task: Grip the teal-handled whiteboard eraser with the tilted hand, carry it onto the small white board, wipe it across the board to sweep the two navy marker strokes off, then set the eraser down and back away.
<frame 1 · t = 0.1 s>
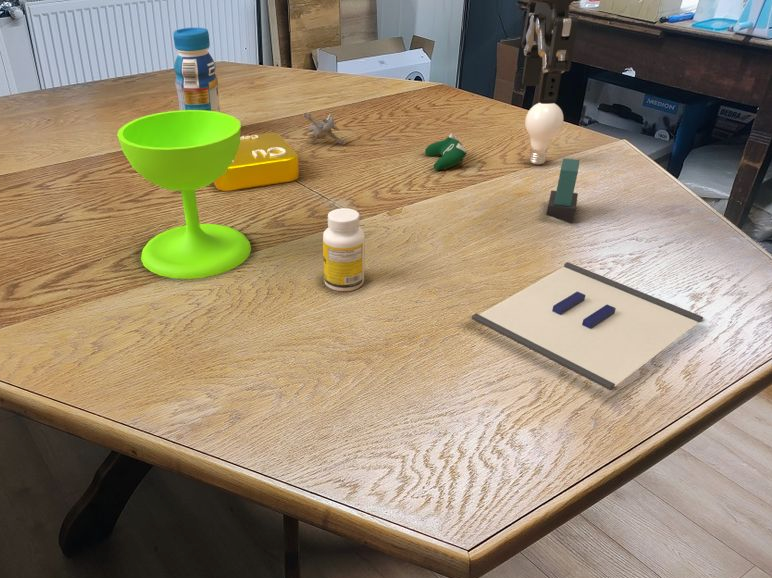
hand: (538, 93, 92), 20 cm above the table, tool pointing down, fingers open, 8 cm apart
eraser: (560, 214, 106), on the table
wineglass: (196, 252, 100), on the table
marker stroke: (598, 319, 80), point 1 cm above the table, touching whiteboard
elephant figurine: (319, 144, 136), on the table
whiteboard: (583, 327, 81), on the table
element tile: (250, 173, 125), on the table
beverage bottle: (202, 135, 142), on the table
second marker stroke: (568, 305, 83), point 1 cm above the table, touching whiteboard
supplement bottle: (343, 283, 91), on the table
lightbulb: (536, 165, 124), on the table
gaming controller: (444, 163, 126), on the table
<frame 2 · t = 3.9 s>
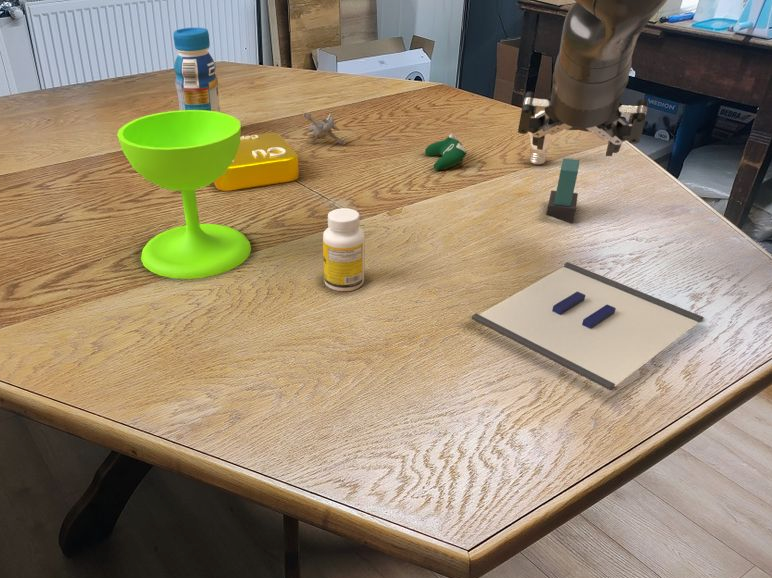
hand: (574, 146, 89), 15 cm above the table, tool tilted 45°, fingers open, 8 cm apart
nothing on the table moved.
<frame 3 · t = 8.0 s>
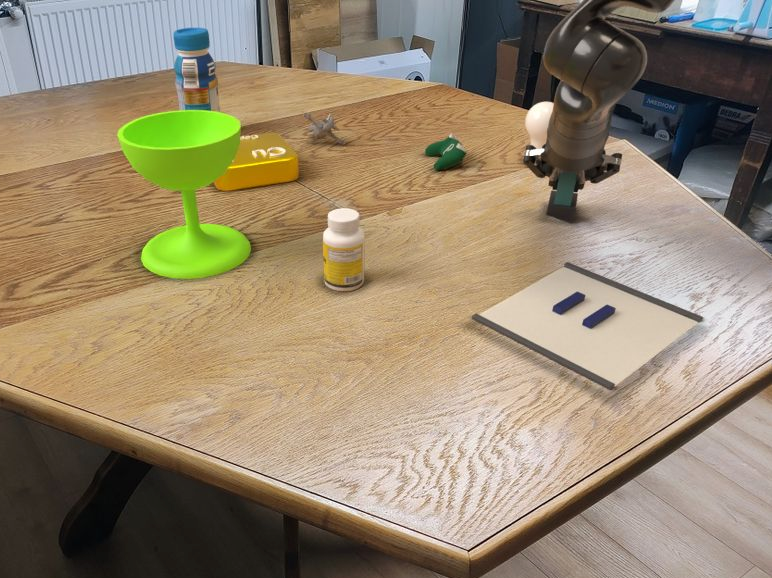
hand: (565, 185, 106), 4 cm above the table, tool tilted 45°, fingers closed on eraser, 2 cm apart
eraser: (560, 214, 106), on the table, touching gripper
everything else where it was.
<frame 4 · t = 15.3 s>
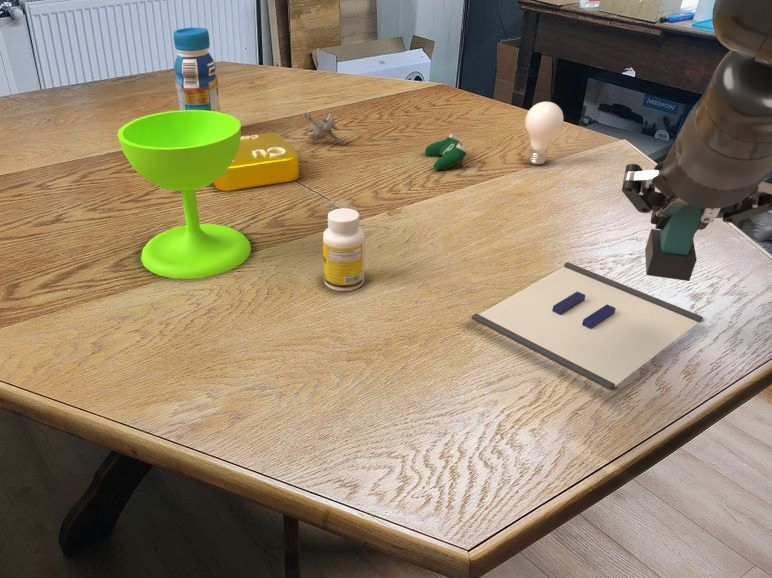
hand: (675, 222, 71), 14 cm above the table, tool tilted 45°, fingers closed on eraser, 2 cm apart
eraser: (666, 264, 72), point 10 cm above the table, touching gripper
everything else where it was.
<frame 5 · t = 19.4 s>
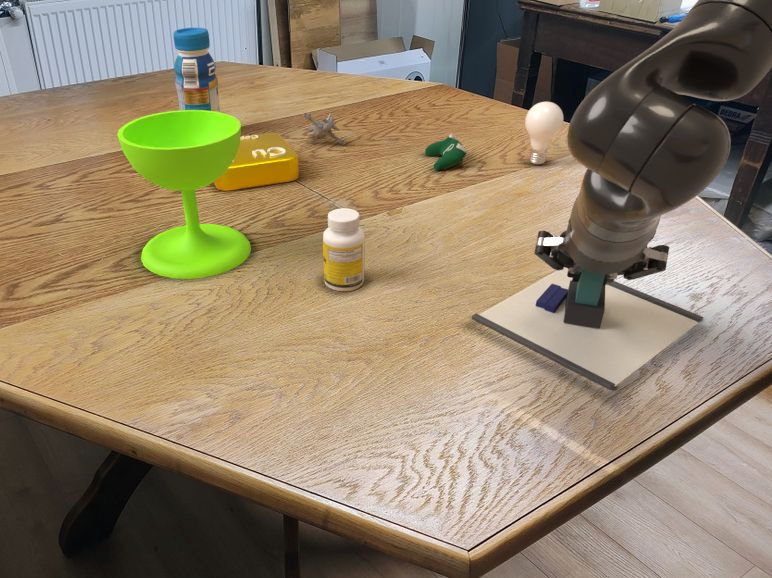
hand: (589, 275, 81), 5 cm above the table, tool tilted 45°, fingers closed on eraser, 2 cm apart
eraser: (582, 312, 81), point 1 cm above the table, touching gripper, marker stroke
marker stroke: (556, 302, 83), point 1 cm above the table, touching eraser, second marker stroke
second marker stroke: (547, 298, 84), point 1 cm above the table, touching marker stroke, whiteboard
everything else where it was.
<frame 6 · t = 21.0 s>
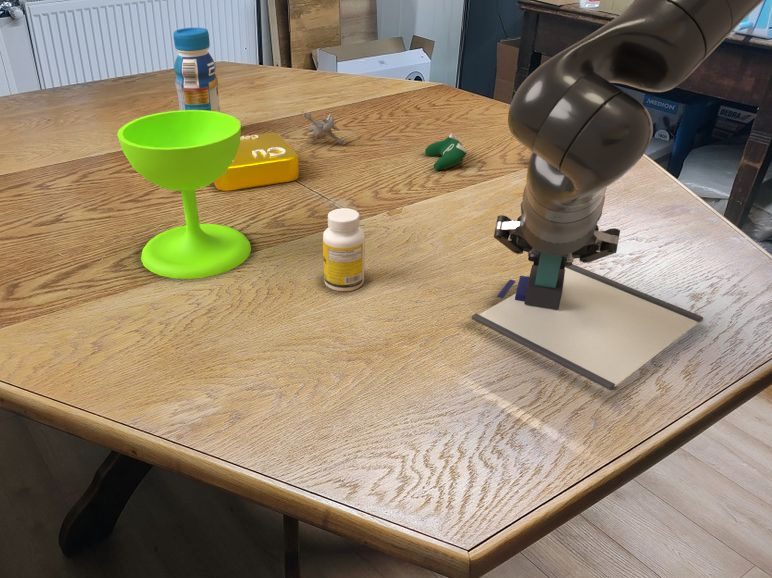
hand: (549, 259, 84), 5 cm above the table, tool tilted 45°, fingers closed on eraser, 2 cm apart
eraser: (543, 295, 85), point 1 cm above the table, touching gripper, marker stroke, whiteboard
marker stroke: (521, 291, 86), point 1 cm above the table, touching eraser, whiteboard
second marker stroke: (508, 293, 87), point 1 cm above the table, tilted 90°
everything else where it was.
when the fingers open (5 cm above the table, at t = 22.5 s): eraser stays where it is, resting on whiteboard.
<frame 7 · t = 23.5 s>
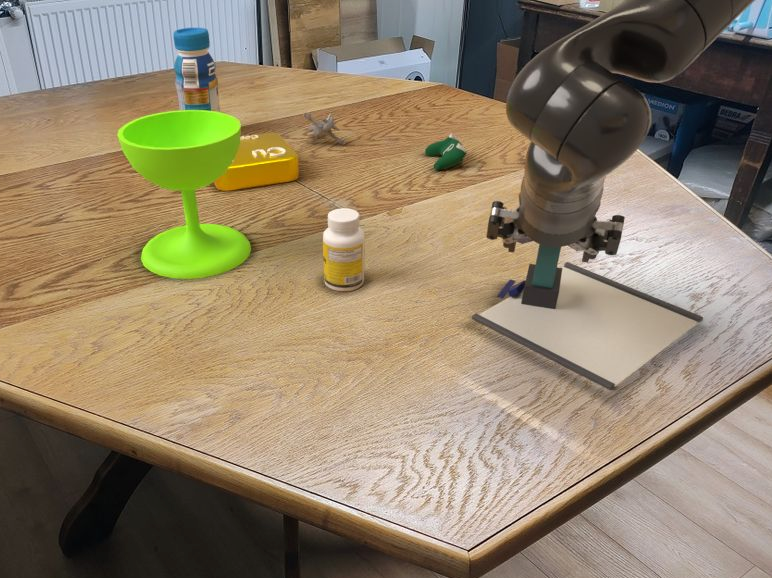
hand: (548, 249, 83), 7 cm above the table, tool tilted 45°, fingers open, 8 cm apart
eraser: (540, 294, 85), point 1 cm above the table, touching whiteboard
marker stroke: (518, 291, 86), point 1 cm above the table, tilted 39°, touching whiteboard
everything else where it was.
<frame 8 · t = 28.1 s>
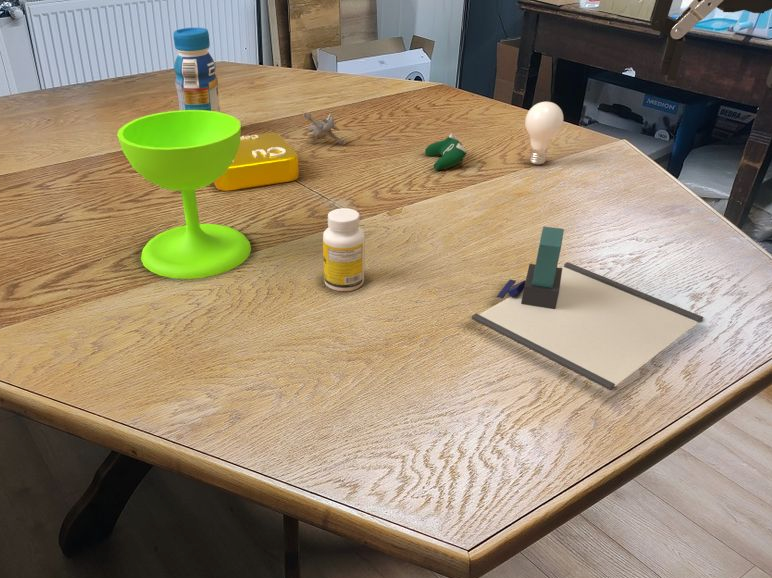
hand: (719, 83, 63), 28 cm above the table, tool pointing down, fingers open, 8 cm apart
nothing on the table moved.
at the end: eraser inside the target area on the whiteboard (0.4 cm from its centre), point 1.2 cm above the whiteboard's base; marker stroke moved 10.3 cm from its start; the gripper is holding nothing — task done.
